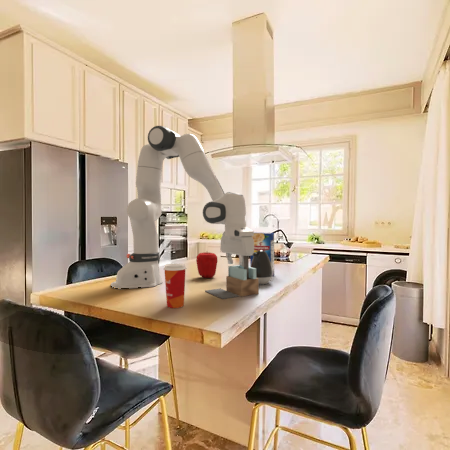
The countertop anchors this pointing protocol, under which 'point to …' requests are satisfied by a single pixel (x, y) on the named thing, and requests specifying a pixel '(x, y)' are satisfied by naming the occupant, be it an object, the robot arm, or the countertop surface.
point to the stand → (243, 283)
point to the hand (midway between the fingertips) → (236, 265)
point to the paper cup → (175, 284)
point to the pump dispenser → (262, 267)
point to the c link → (241, 272)
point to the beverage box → (264, 246)
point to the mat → (221, 293)
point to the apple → (206, 264)
